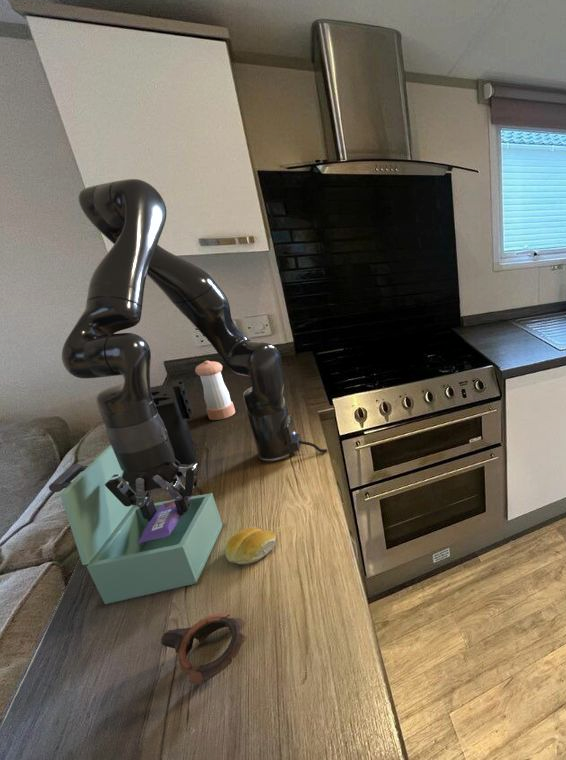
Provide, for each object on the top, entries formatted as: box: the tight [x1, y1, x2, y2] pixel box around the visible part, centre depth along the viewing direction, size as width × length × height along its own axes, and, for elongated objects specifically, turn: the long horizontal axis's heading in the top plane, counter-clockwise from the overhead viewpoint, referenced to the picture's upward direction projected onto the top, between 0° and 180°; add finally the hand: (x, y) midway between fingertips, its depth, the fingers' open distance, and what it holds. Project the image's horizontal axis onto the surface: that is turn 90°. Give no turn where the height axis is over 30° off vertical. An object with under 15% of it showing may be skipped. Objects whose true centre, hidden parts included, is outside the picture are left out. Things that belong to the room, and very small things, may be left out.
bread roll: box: [224, 526, 277, 565], centre depth 90 cm, size 8×9×4 cm
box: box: [86, 492, 224, 605], centre depth 86 cm, size 14×16×9 cm
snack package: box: [137, 496, 192, 544], centre depth 84 cm, size 12×2×5 cm
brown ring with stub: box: [160, 612, 248, 685], centre depth 69 cm, size 12×10×8 cm
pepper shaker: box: [194, 360, 236, 421], centre depth 141 cm, size 7×7×19 cm
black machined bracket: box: [150, 379, 197, 476], centre depth 117 cm, size 12×21×22 cm, turn 39°
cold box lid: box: [48, 444, 134, 566], centre depth 79 cm, size 15×16×5 cm
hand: (168, 515), depth 85 cm, fingers closed on snack package, 4 cm apart
